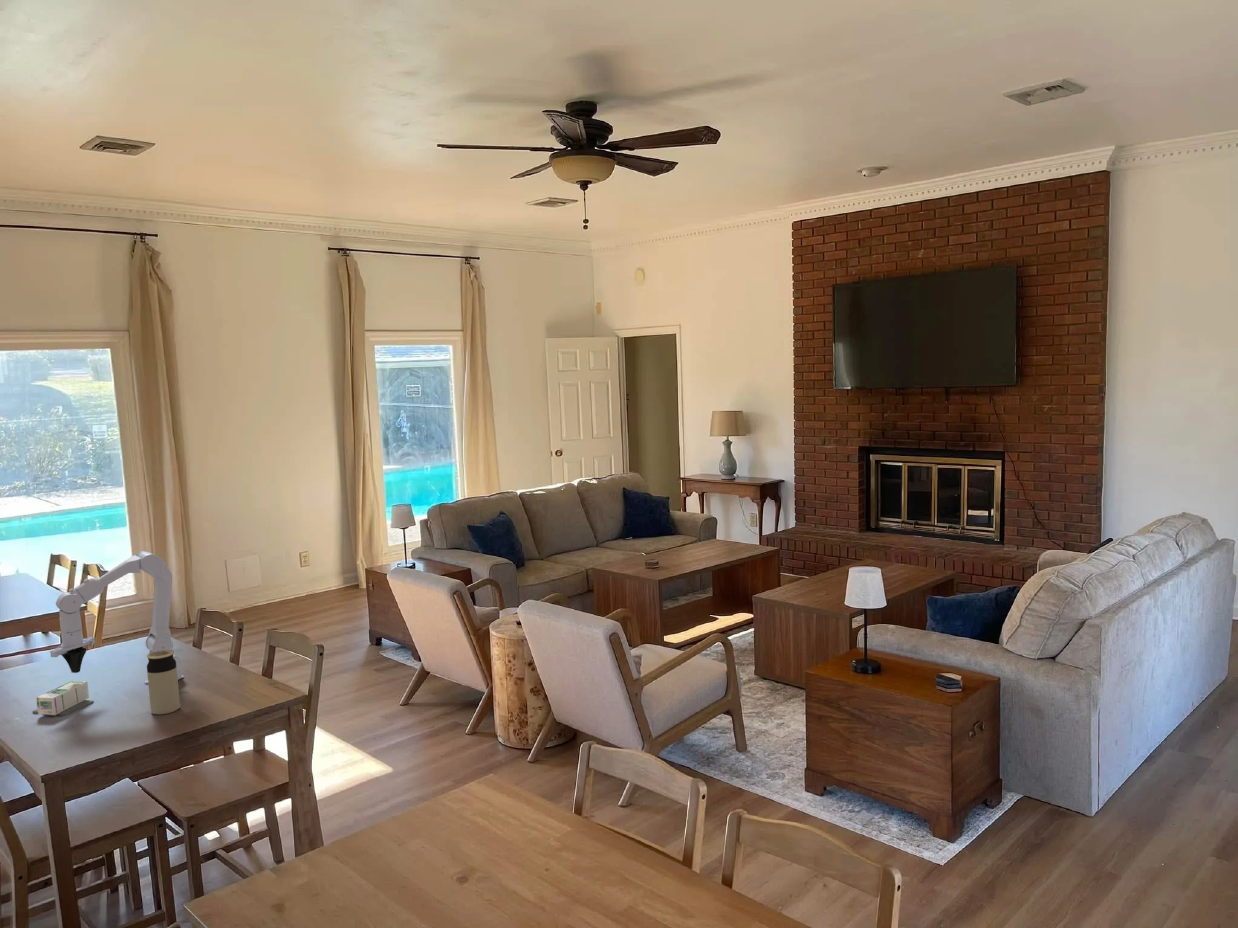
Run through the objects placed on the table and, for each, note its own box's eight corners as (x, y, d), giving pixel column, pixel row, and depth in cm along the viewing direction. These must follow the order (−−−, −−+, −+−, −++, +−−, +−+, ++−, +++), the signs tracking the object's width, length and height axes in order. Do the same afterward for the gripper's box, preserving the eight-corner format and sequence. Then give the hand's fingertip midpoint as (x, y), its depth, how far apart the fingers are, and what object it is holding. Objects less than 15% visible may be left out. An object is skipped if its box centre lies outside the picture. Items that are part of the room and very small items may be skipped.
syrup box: (87, 680, 282) (52, 696, 267) (89, 698, 282) (54, 715, 268) (71, 680, 283) (35, 696, 268) (73, 698, 283) (37, 715, 269)
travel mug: (168, 715, 267) (162, 657, 265) (145, 714, 268) (139, 657, 266) (185, 705, 275) (180, 649, 273) (163, 704, 276) (158, 648, 274)
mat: (93, 702, 280) (93, 700, 280) (63, 715, 269) (62, 714, 269) (64, 699, 283) (63, 697, 283) (32, 712, 273) (32, 710, 273)
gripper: (81, 623, 288) (85, 663, 289) (41, 636, 274) (45, 678, 275) (98, 624, 286) (102, 664, 287) (58, 637, 272) (63, 680, 273)
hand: (75, 671), depth 281 cm, fingers closed
